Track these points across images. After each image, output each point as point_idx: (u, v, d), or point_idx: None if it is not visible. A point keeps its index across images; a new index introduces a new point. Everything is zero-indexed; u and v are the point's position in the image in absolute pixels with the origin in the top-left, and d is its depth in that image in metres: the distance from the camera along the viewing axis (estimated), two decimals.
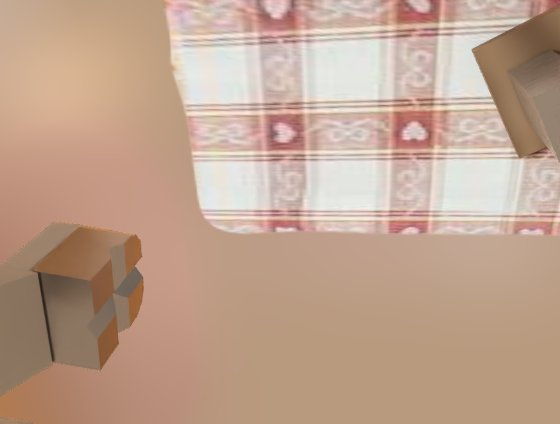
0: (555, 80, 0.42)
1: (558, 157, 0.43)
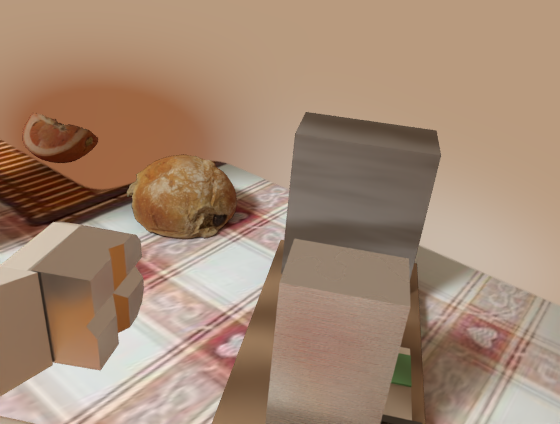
0: None
1: (401, 303, 0.24)
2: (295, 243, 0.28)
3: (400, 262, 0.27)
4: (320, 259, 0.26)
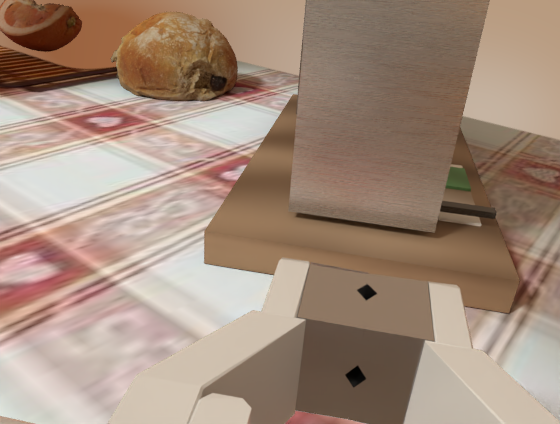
0: None
1: None
2: None
3: None
4: None
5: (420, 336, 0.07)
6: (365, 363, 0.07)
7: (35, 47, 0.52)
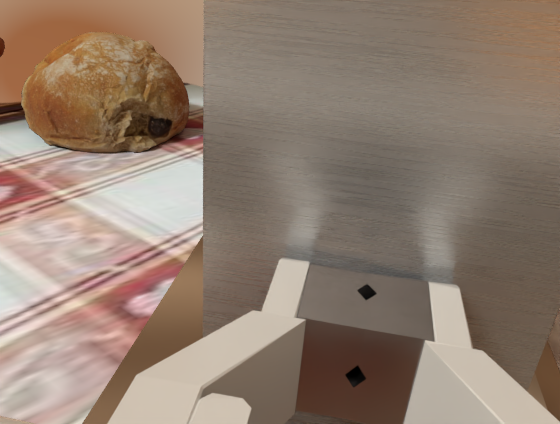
0: None
1: None
2: None
3: None
4: None
5: (420, 336, 0.07)
6: (365, 363, 0.07)
7: None
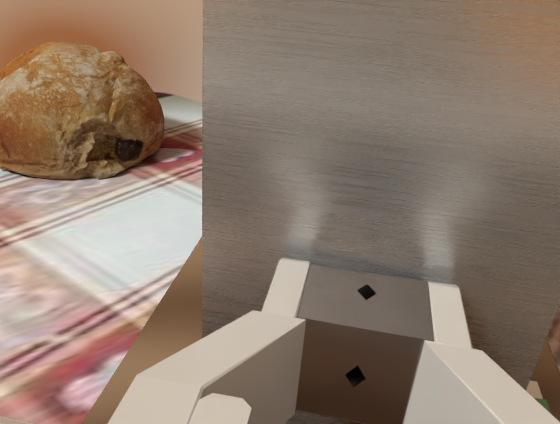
0: None
1: None
2: None
3: None
4: None
5: (420, 336, 0.07)
6: (365, 363, 0.07)
7: None
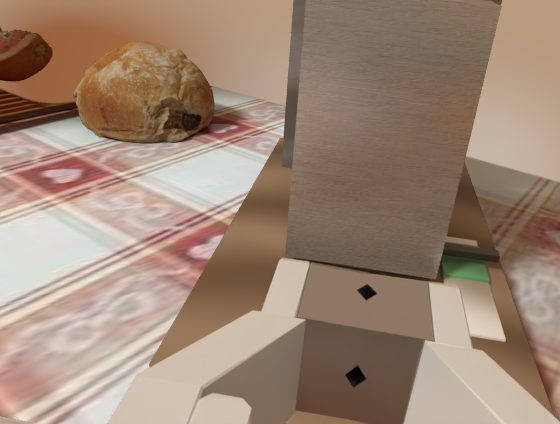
0: None
1: (487, 4, 0.16)
2: None
3: None
4: None
5: (420, 336, 0.07)
6: (365, 363, 0.07)
7: (0, 78, 0.47)
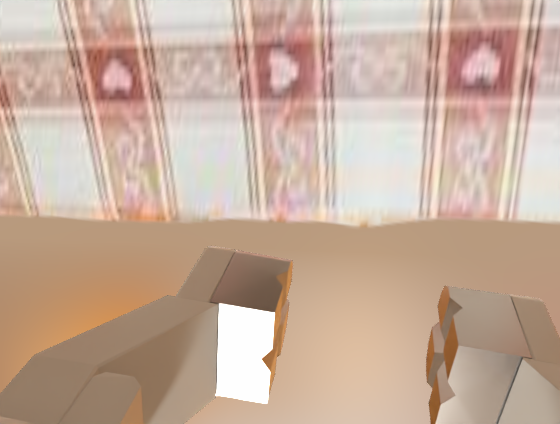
0: None
1: None
2: None
3: None
4: None
5: (516, 353, 0.07)
6: (455, 380, 0.07)
7: None
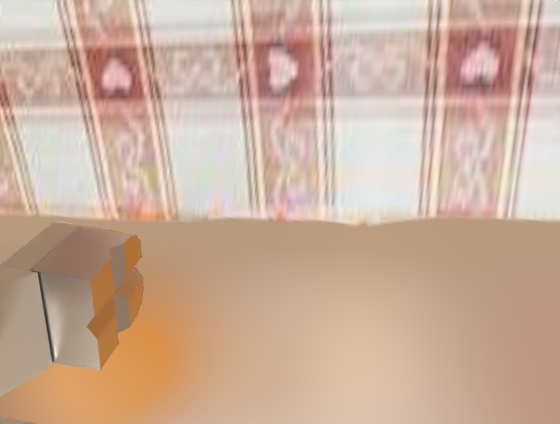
0: None
1: None
2: None
3: None
4: None
5: None
6: None
7: None
